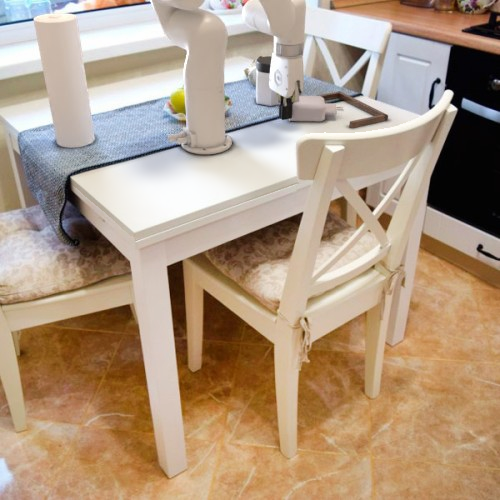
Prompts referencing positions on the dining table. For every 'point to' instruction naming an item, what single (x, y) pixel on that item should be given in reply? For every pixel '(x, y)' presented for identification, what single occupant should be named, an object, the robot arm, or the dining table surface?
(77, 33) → the cylinder container
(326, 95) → the brown bent bar
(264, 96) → the jar
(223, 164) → the dining table surface
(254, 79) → the ceramic sculpture
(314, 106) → the charger
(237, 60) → the dining table surface
